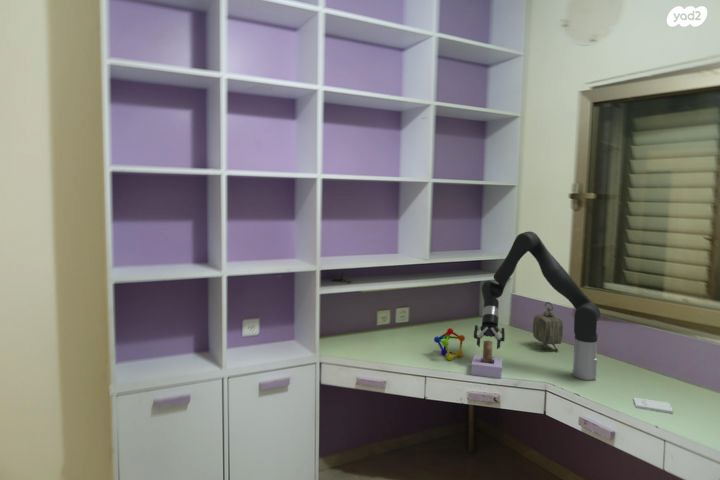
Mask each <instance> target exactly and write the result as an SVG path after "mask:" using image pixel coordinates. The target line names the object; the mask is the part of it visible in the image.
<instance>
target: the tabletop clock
mask: <svg viewBox="0 0 720 480" xmlns="http://www.w3.org/2000/svg"><path fill="white" fill-rule="evenodd" d="M547 304H548V305H550V306H551V308H550V307H547ZM544 306H545V309H546V310H545V311H544V312H543V314H536V315H534V317H533V325H532V326H533V327H532V336H533V338H534V339H535V340H537V342H540V343H542V345H541V346H540V347H541V349H542V350H543V349H545V346H546V345H552V346H553V348H554V351H555V352H559V349H558V348H557V347H556V345H560V344H562V341H563V335H564V331H563V330H564V326H563V325H564V324H563V320H562V318H561V317H559V316H558V315H555V314H554V312H553V309H554V306H553V304H552V303H551V302H550V301H549V302H548V301H547V302H545V305H544Z"/></svg>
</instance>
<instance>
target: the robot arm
mask: <svg viewBox="0 0 720 480" xmlns="http://www.w3.org/2000/svg"><path fill="white" fill-rule="evenodd" d="M528 252H529V253H530V255H532V257H533V258H534V259H535V261H536V262H537V263H538V266H539V267H540V272H541V274H542V275H543V277H544V279H545V280H546V281H547V282H548V284H549V285H550V286H551V287H552V288H553V289H554V290H555V291H556V292H557V293H558V294H560V295H561V296H563V297H564V298H565V299H567V300H568V301H569V302H570V304H571V305H572V306H573V308H574V309H575V312H574V320H573V323H574V324H573V333H574V344H573V345H574V346H573V358H572V359H573V360H572V361H573V362H572V377H575V378H576V379H580V380H582V381H583V380H586V381H593V380H595V381H596V379H597V378H596V377H597V366H598V365H597V364H598V358H597V350H598V336H599V335H598V334H597V329H598V328H597V326H598V325H597V324H598V321H599V320H600V319H601V311H600V308H599V307H598V305H596V304H595V303H594V302H593V301H592V300H591V299H590V298H589V297H588V296H587V295H586V294H585V293H584V292H583V290H581V289H580V287H579V286H578V285H577V283H576V282H575V281H574V280H573V278H572V277H571V276H570V275H569V273H568V272H567V271H566V270H565V268H564V267H563V266H562V265H561V264H560V262H559V261H558V260H557V259H556V258H555V257H554V256H553V255H552V254H551V253H550V251H549V250H548V249H547V247H546V246H545V244H544V242H543V241H542V240H541V238H540V237H539V236H538V234H537V233H535V232H533V231H530V230H529V231H524V232H521V233H519V234H518V235H517V236H516V237H515V239H514V241H513V243H512V245H511V248H510V250H509V251H508V254H507V255H506V257H505V259H504V260H503V262H502V263H501V265H500V266H499V267H498V268H497V270H496V272H495V273H494V274H493V279H494V281H496V282H493V281H490V280H486V281H484V282H483V283H482V285H481V293H482V298H483V311H482V319H481V326H478V325H477V324H476V325H474V331H473V339H475V340H476V346H477V347H478V348H481V339H482V338H484V337H490V338H493V337H494V338H495V340H496V349H497V350H499V348H501V342H505V338H506V337H505V334H506V333H505V328H504V327H502V328H499V318H500V317H499V315H500V314H499V307H500V306H499V305H500V302H499V300H498V299H499V298H501V297H502V295H503V294H504V290H505V287H506V284H507V282H508V281H509V279H510V278H511V277H512V275H513V274H514V272H515V270H516V268H517V266H518V263H519V262H520V260H521V259H522V257H524V255H526V254H527V253H528ZM479 331H481V332H480V333H478V332H479ZM498 332H499V333H500V334H501V337H500V336H499V333H498Z"/></svg>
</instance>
